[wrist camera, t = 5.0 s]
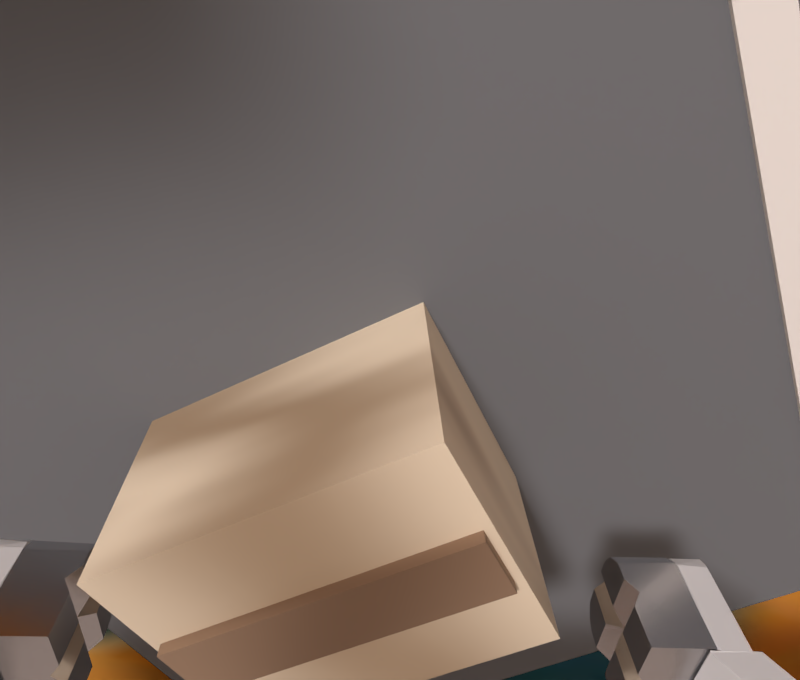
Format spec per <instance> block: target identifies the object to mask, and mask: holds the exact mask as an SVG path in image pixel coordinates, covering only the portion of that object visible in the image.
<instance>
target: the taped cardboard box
mask: <svg viewBox="0 0 800 680" xmlns="http://www.w3.org/2000/svg"><path fill="white" fill-rule="evenodd" d="M77 586H79V587H80V588H81V589H82V590H83V591H85V592H86V593H87V594H88V595H90V596H91V597H92V598H93V599H94V600H96V601H97V602H98V603H99V604H100V605H102V606H103V607H104V608H105V609H107V610H108V611H109V612H110V613H111V614H113V615H114V616H115V617H116V618H118V619H119V620H120V621H121V622H122V623H124V624H125V625H126V626H127V627H129V628H130V629H131V630H132V631H133V632H135V633H136V634H137V635H138V636H140V637H141V638H142V639H143V640H144V641H146V642H147V643H148V644H149V645H151V646H152V647H153V648H154V649H155V650H157V651H158V654H157V658H159V659H160V660H161V661H162V662H164V663H165V664H166V665H167V666H169V667H170V668H171V669H172V670H173V671H175V672H176V673H177V674H178V675H180V676H181V677H182V678H183V679H185V680H428V679H431V678H434V677H437V676H441V675H444V674H447V673H450V672H454V671H457V670H460V669H463V668H467V667H470V666H473V665H476V664H480V663H483V662H486V661H489V660H493V659H496V658H499V657H502V656H506V655H509V654H512V653H515V652H519V651H522V650H525V649H528V648H532V647H535V646H538V645H542V644H545V643H548V642H551V641H555V640H558V639H560V636H559V632H558V628H557V625H556V621H555V617H554V614H553V610H552V607H551V603H550V599H549V596H548V592H547V588H546V585H545V581H544V578H543V574H542V570H541V567H540V563H539V559H538V556H537V552H536V548H535V545H534V541H533V538H532V534H531V530H530V527H529V523H528V519H527V516H526V512H525V509H524V505H523V501H522V498H521V494H520V490H519V487H518V483H517V480H516V476H515V475H514V473H513V471H512V469H511V467H510V465H509V463H508V461H507V459H506V457H505V456H504V454H503V452H502V450H501V448H500V446H499V444H498V442H497V440H496V439H495V437H494V435H493V433H492V431H491V429H490V427H489V425H488V423H487V422H486V420H485V418H484V416H483V414H482V412H481V410H480V408H479V406H478V404H477V403H476V401H475V399H474V397H473V395H472V393H471V391H470V389H469V387H468V386H467V384H466V382H465V380H464V378H463V376H462V374H461V372H460V370H459V369H458V367H457V365H456V363H455V361H454V359H453V357H452V355H451V353H450V352H449V350H448V348H447V346H446V344H445V342H444V340H443V338H442V336H441V334H440V333H439V331H438V329H437V327H436V325H435V323H434V321H433V319H432V317H431V316H430V314H429V312H428V310H427V308H426V306H425V304H424V302H422V303H420V304H418V305H415V306H413V307H411V308H409V309H406V310H404V311H402V312H399V313H397V314H395V315H393V316H390V317H388V318H386V319H384V320H381V321H379V322H377V323H374V324H372V325H370V326H368V327H365V328H363V329H361V330H359V331H356V332H354V333H352V334H349V335H347V336H345V337H343V338H340V339H338V340H336V341H333V342H331V343H329V344H327V345H324V346H322V347H320V348H318V349H315V350H313V351H311V352H308V353H306V354H304V355H302V356H299V357H297V358H295V359H293V360H290V361H288V362H286V363H283V364H281V365H279V366H277V367H274V368H272V369H270V370H268V371H265V372H263V373H261V374H258V375H256V376H254V377H252V378H249V379H247V380H245V381H242V382H240V383H238V384H236V385H233V386H231V387H229V388H227V389H224V390H222V391H220V392H217V393H215V394H213V395H211V396H208V397H206V398H204V399H202V400H199V401H197V402H195V403H192V404H190V405H188V406H186V407H183V408H181V409H179V410H177V411H174V412H172V413H170V414H167V415H165V416H163V417H161V418H158V419H156V420H154V421H152V423H151V425H150V427H149V429H148V431H147V433H146V436H145V438H144V440H143V442H142V444H141V446H140V448H139V451H138V453H137V455H136V457H135V459H134V461H133V464H132V466H131V468H130V470H129V472H128V474H127V477H126V479H125V481H124V483H123V485H122V487H121V490H120V492H119V494H118V496H117V498H116V500H115V502H114V505H113V507H112V509H111V511H110V513H109V515H108V518H107V520H106V522H105V524H104V526H103V528H102V531H101V533H100V535H99V537H98V539H97V541H96V544H95V546H94V548H93V550H92V552H91V554H90V556H89V559H88V561H87V563H86V565H85V567H84V569H83V572H82V574H81V576H80V578H79V580H78V582H77Z"/></svg>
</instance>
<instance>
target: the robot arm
mask: <svg viewBox="0 0 800 680" xmlns="http://www.w3.org/2000/svg"><path fill="white" fill-rule="evenodd" d="M94 546H95V544H89V543H71V542H52V541H34V540H7V539H0V680H87V678H88V676H89V673H90V671H91V668H92V664H91V660H90V657H89V654H88V651H89V650H91V649H92V648H93V647H94V646H95V645H96V644H98V643H99V642H100V641H101V640H102V639H103V638H104V636H105V633H106V630H107V628H108V625H109V622H110V619H111V613H110V612H109V611H108V610H107V609H105V608H104V607H103V606H102V605H100V604H99V603H98V602H97V601H96V600H94V599H93V598H92V597H91V596H90V595H88V594H87V593H86V592H85V591H83V590H82V589H81V588H80V587H79V586H77V582H78V580H79V578H80V576H81V574H82V572H83V569H84V567H85V565H86V563H87V561H88V559H89V556H90V554H91V552H92V550H93V548H94ZM601 573H602V576H603V579H604V582H603V583H602V584H600V585H599V586H598V587H596V588H595V589H594V591H593V594H592V597H591V601H590V624H591V630H592V635H593V638H594V641H595V645H596V648H597V649H598V650H599V651H600V652H601V653H602V654H604V655H605V656H606V657H607V658H608V659H609V660H610V662H609V664H608V667H607V669H606V672H605V676H606V680H796V679H795V678H794V677H792V676H791V675H790V674H789V673H787V672H786V671H785V670H784V669H783V668H781V667H780V666H779V665H778V664H776V663H775V662H774V661H773V660H772V659H770V658H769V657H768V656H767V655H765V654H764V653H763V652H758V651H753V650H752V649H751V647H750V645H749V643H748V641H747V639H746V638H745V636H744V634H743V632H742V630H741V628H740V627H739V625H738V623H737V621H736V619H735V617H734V616H733V614H732V612H731V610H730V608H729V606H728V605H727V603H726V601H725V599H724V597H723V596H722V594H721V592H720V590H719V588H718V586H717V585H716V583H715V581H714V579H713V577H712V575H711V574H710V572H709V570H708V568H707V566H706V565H705V564H704V563H703V562H702V561H701V560H700V559H667V558H650V557H609V558H608V559H607V560H606V561H605V562H604V565H603V567H602V570H601Z"/></svg>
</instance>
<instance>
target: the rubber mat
mask: <svg viewBox="0 0 800 680" xmlns="http://www.w3.org/2000/svg"><path fill="white" fill-rule="evenodd" d="M422 302H424V304H425V306H426V308H427V310H428V312H429V314H430V316H431V317H432V319H433V321H434V323H435V325H436V327H437V329H438V331H439V333H440V334H441V336H442V338H443V340H444V342H445V344H446V346H447V348H448V350H449V352H450V353H451V355H452V357H453V359H454V361H455V363H456V365H457V367H458V369H459V370H460V372H461V374H462V376H463V378H464V380H465V382H466V384H467V386H468V387H469V389H470V391H471V393H472V395H473V397H474V399H475V401H476V403H477V404H478V406H479V408H480V410H481V412H482V414H483V416H484V418H485V420H486V422H487V423H488V425H489V427H490V429H491V431H492V433H493V435H494V437H495V439H496V440H497V442H498V444H499V446H500V448H501V450H502V452H503V454H504V456H505V457H506V459H507V461H508V463H509V465H510V467H511V469H512V471H513V473H514V475H515V476H516V480H517V483H518V487H519V490H520V494H521V498H522V501H523V505H524V509H525V512H526V516H527V519H528V523H529V527H530V530H531V534H532V538H533V541H534V545H535V548H536V552H537V556H538V559H539V563H540V567H541V570H542V574H543V578H544V581H545V585H546V588H547V592H548V596H549V599H550V603H551V607H552V610H553V614H554V617H555V621H556V625H557V628H558V632H559V636H560V639H558V640H555V641H551V642H548V643H545V644H542V645H538V646H535V647H532V648H528V649H525V650H522V651H519V652H515V653H512V654H509V655H506V656H502V657H499V658H496V659H493V660H489V661H486V662H483V663H480V664H476V665H473V666H470V667H467V668H463V669H460V670H457V671H454V672H450V673H447V674H444V675H441V676H437V677H434V678H431V679H428V680H503V679H506V678H509V677H513V676H516V675H519V674H523V673H526V672H529V671H533V670H536V669H539V668H543V667H546V666H549V665H553V664H556V663H560V662H563V661H566V660H570V659H573V658H576V657H580V656H583V655H586V654H590V653H593V652H596V651H599V650H598V649H597V648H596V645H595V641H594V638H593V635H592V630H591V624H590V601H591V597H592V594H593V591H594V589H595V588H596V587H598V586H599V585H600V584H602V583H603V582H604V579H603V576H602V573H601V570H602V567H603V565H604V562H605V561H606V560H607V559H608V558H609V557H650V558H667V559H700V560H701V561H702V562H703V563H704V564H705V565H706V566H707V568H708V570H709V572H710V574H711V575H712V577H713V579H714V581H715V583H716V585H717V586H718V588H719V590H720V592H721V594H722V596H723V597H724V599H725V601H726V603H727V605H728V606H729V608H730V610H731V611H733V610H737V609H740V608H743V607H747V606H750V605H753V604H757V603H760V602H763V601H767V600H770V599H774V598H777V597H780V596H784V595H787V594H790V593H794V592H797V591H800V0H0V539H7V540H34V541H52V542H71V543H89V544H96V541H97V539H98V537H99V535H100V533H101V531H102V528H103V526H104V524H105V522H106V520H107V518H108V515H109V513H110V511H111V509H112V507H113V505H114V502H115V500H116V498H117V496H118V494H119V492H120V490H121V487H122V485H123V483H124V481H125V479H126V477H127V474H128V472H129V470H130V468H131V466H132V464H133V461H134V459H135V457H136V455H137V453H138V451H139V448H140V446H141V444H142V442H143V440H144V438H145V436H146V433H147V431H148V429H149V427H150V425H151V423H152V421H154V420H156V419H158V418H161V417H163V416H165V415H167V414H170V413H172V412H174V411H177V410H179V409H181V408H183V407H186V406H188V405H190V404H192V403H195V402H197V401H199V400H202V399H204V398H206V397H208V396H211V395H213V394H215V393H217V392H220V391H222V390H224V389H227V388H229V387H231V386H233V385H236V384H238V383H240V382H242V381H245V380H247V379H249V378H252V377H254V376H256V375H258V374H261V373H263V372H265V371H268V370H270V369H272V368H274V367H277V366H279V365H281V364H283V363H286V362H288V361H290V360H293V359H295V358H297V357H299V356H302V355H304V354H306V353H308V352H311V351H313V350H315V349H318V348H320V347H322V346H324V345H327V344H329V343H331V342H333V341H336V340H338V339H340V338H343V337H345V336H347V335H349V334H352V333H354V332H356V331H359V330H361V329H363V328H365V327H368V326H370V325H372V324H374V323H377V322H379V321H381V320H384V319H386V318H388V317H390V316H393V315H395V314H397V313H399V312H402V311H404V310H406V309H409V308H411V307H413V306H415V305H418V304H420V303H422ZM108 629H109V630H111V631H112V632H113V633H114V634H116V635H117V636H118V637H119V638H121V639H122V640H123V641H124V642H126V643H127V644H128V645H129V646H131V647H132V648H133V649H134V650H136V651H137V652H138V653H139V654H141V655H142V656H143V657H144V658H146V659H147V660H148V661H149V662H151V663H152V664H153V665H154V666H156V667H157V668H158V669H159V670H161V671H162V672H163V673H164V674H166V675H167V676H168V677H169V678H171V679H172V680H185V679H183V678H182V677H181V676H180V675H178V674H177V673H176V672H175V671H173V670H172V669H171V668H170V667H169V666H167V665H166V664H165V663H164V662H162V661H161V660H160V659H159V658H157V654H158V651H157V650H155V649H154V648H153V647H152V646H151V645H149V644H148V643H147V642H146V641H144V640H143V639H142V638H141V637H140V636H138V635H137V634H136V633H135V632H133V631H132V630H131V629H130V628H129V627H127V626H126V625H125V624H124V623H122V622H121V621H120V620H119V619H118V618H116V617H115V616H114V615H113V614H111V619H110V622H109V625H108Z"/></svg>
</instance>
